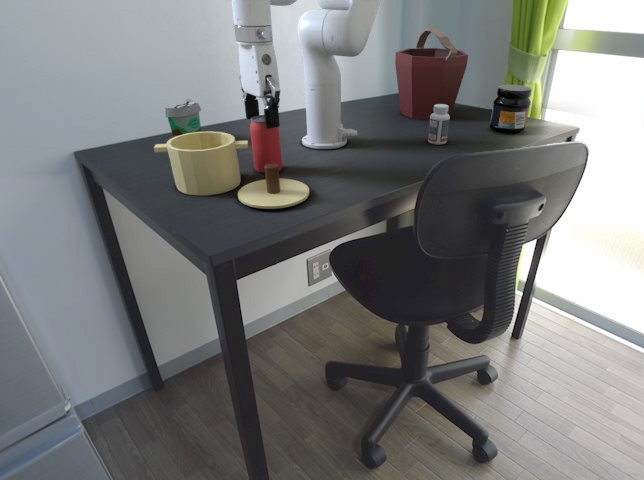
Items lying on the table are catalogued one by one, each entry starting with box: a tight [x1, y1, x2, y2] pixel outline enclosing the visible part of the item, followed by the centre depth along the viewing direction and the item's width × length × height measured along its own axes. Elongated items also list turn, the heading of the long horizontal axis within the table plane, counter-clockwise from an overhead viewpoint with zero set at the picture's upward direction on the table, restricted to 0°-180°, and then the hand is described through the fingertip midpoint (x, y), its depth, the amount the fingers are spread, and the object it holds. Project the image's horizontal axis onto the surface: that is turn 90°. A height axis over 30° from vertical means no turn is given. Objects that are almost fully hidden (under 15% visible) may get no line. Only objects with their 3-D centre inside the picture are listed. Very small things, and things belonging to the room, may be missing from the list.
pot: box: [153, 130, 249, 197], centre depth 98 cm, size 14×19×10 cm
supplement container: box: [489, 84, 532, 135], centre depth 134 cm, size 10×10×12 cm
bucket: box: [394, 28, 469, 121], centre depth 146 cm, size 24×22×25 cm
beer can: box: [249, 114, 283, 175], centre depth 105 cm, size 7×7×12 cm
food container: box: [164, 98, 202, 138], centre depth 123 cm, size 12×6×10 cm, turn 168°
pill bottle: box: [427, 104, 451, 145], centre depth 124 cm, size 5×5×10 cm
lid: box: [237, 164, 310, 210], centre depth 93 cm, size 15×15×7 cm
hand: (262, 122), depth 101 cm, fingers open, 9 cm apart
